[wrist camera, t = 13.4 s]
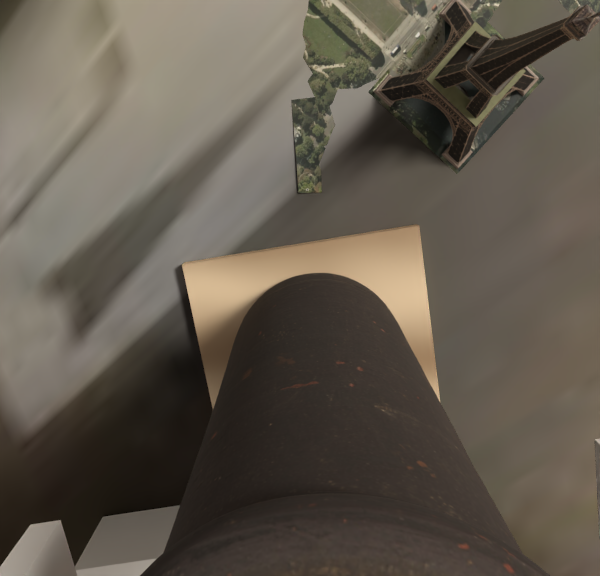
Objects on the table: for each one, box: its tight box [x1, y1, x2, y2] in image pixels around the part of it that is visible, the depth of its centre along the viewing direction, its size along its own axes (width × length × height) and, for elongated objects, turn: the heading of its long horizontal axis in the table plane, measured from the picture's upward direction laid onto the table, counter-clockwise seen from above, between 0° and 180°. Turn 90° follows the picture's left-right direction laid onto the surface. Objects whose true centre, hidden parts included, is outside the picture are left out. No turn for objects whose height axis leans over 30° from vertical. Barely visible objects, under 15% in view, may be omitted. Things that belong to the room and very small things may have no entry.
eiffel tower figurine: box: [292, 0, 600, 193], centre depth 19 cm, size 15×10×13 cm
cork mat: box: [182, 224, 440, 408], centre depth 27 cm, size 11×11×1 cm
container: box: [140, 273, 550, 576], centre depth 17 cm, size 9×9×20 cm
